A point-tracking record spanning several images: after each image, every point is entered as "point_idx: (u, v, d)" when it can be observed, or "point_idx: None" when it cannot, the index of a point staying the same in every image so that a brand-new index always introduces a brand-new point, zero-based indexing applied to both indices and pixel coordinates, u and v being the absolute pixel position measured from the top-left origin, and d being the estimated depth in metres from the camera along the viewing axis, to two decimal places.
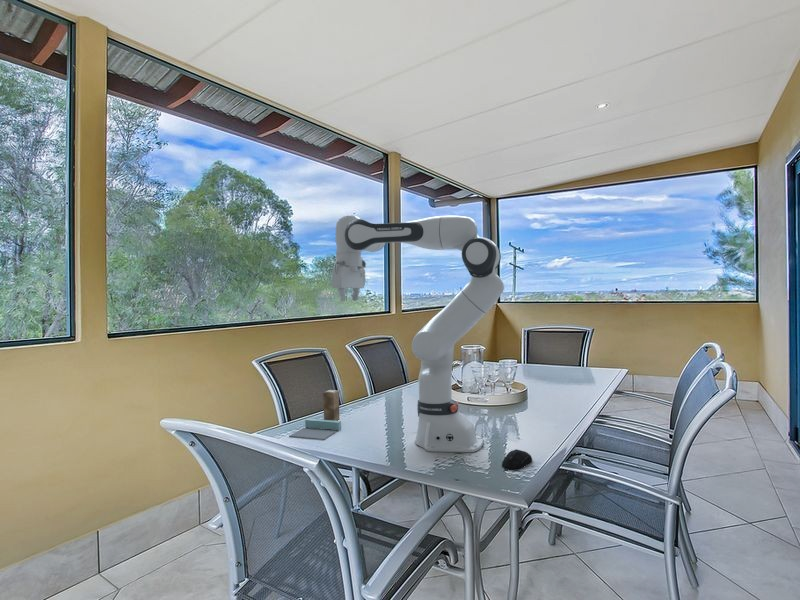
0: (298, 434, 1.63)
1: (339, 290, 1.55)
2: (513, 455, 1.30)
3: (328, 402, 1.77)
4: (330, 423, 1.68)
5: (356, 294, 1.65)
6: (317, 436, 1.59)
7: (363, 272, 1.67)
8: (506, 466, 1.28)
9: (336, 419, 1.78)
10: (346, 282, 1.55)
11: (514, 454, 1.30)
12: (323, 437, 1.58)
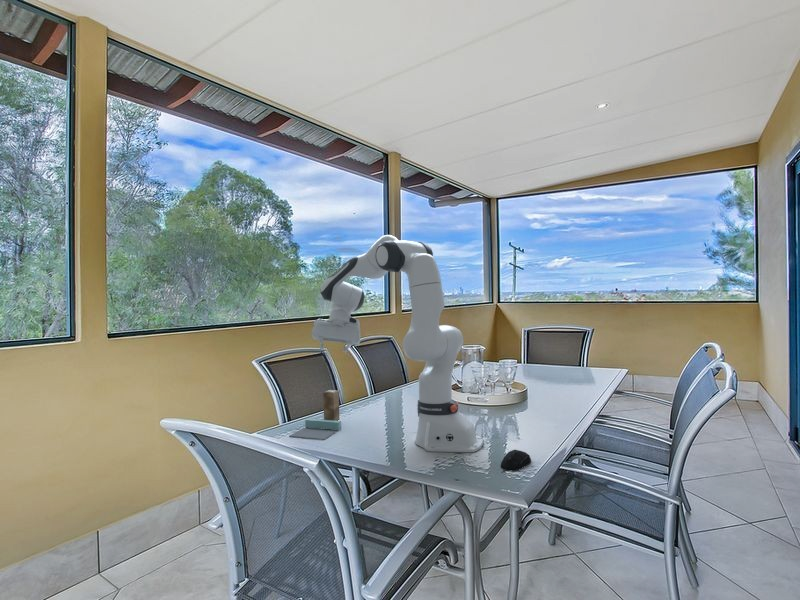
0: (298, 434, 1.63)
1: (319, 341, 1.86)
2: (512, 455, 1.29)
3: (328, 402, 1.77)
4: (330, 423, 1.68)
5: None
6: (317, 436, 1.59)
7: (356, 328, 1.87)
8: (505, 466, 1.27)
9: (336, 419, 1.78)
10: (322, 332, 1.85)
11: (513, 454, 1.30)
12: (323, 437, 1.58)
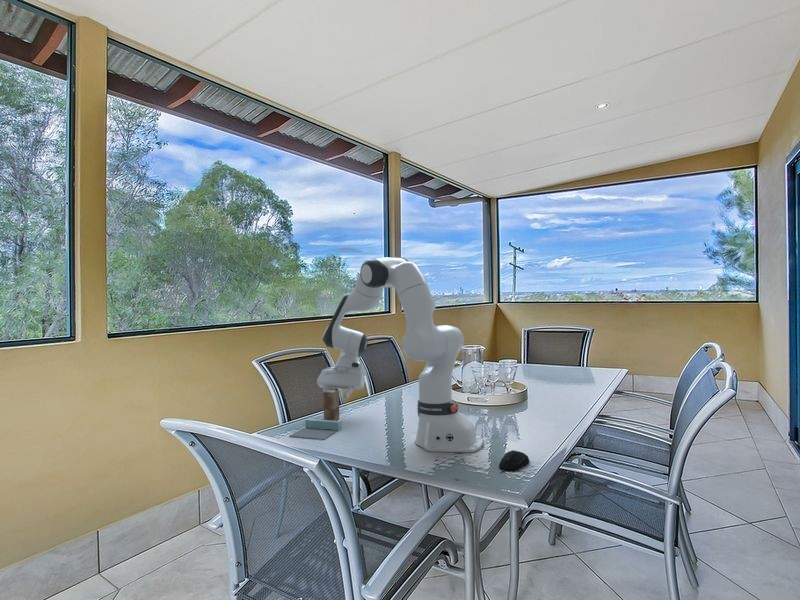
0: (298, 434, 1.63)
1: None
2: (510, 456, 1.29)
3: (328, 402, 1.77)
4: (330, 423, 1.68)
5: None
6: (317, 436, 1.59)
7: (358, 372, 1.84)
8: (503, 467, 1.27)
9: (336, 419, 1.78)
10: (326, 380, 1.87)
11: (511, 455, 1.29)
12: (323, 437, 1.58)
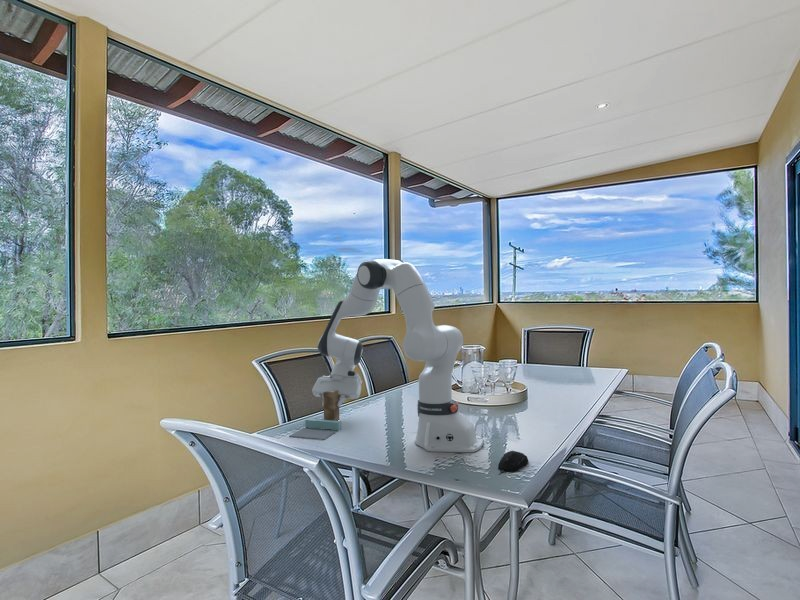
0: (298, 434, 1.63)
1: None
2: (509, 456, 1.28)
3: (328, 402, 1.77)
4: (330, 423, 1.68)
5: None
6: (317, 436, 1.59)
7: (354, 381, 1.81)
8: (503, 468, 1.26)
9: (336, 419, 1.78)
10: (321, 388, 1.83)
11: (510, 455, 1.29)
12: (323, 437, 1.58)
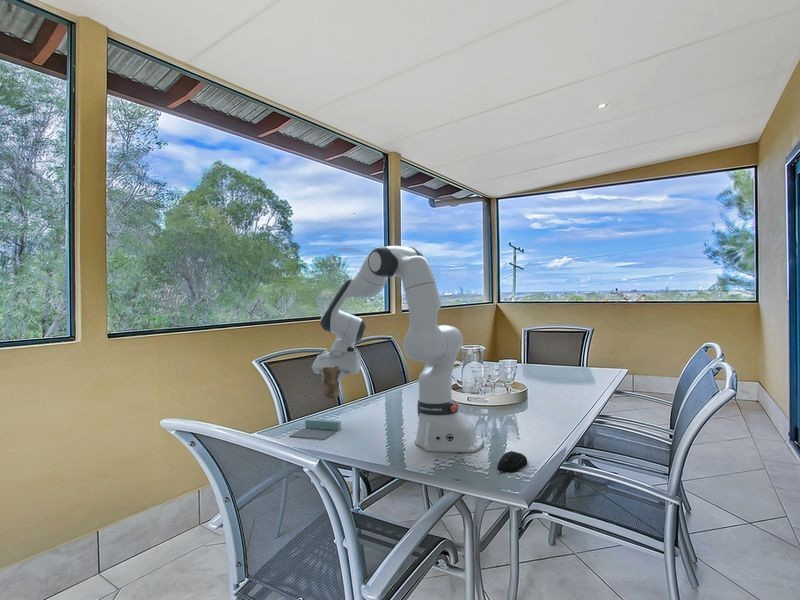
0: (298, 434, 1.63)
1: None
2: (509, 457, 1.28)
3: (327, 378, 1.76)
4: (330, 423, 1.68)
5: None
6: (317, 436, 1.59)
7: (353, 357, 1.81)
8: (502, 468, 1.26)
9: (336, 394, 1.77)
10: (321, 365, 1.83)
11: (510, 456, 1.29)
12: (323, 437, 1.58)
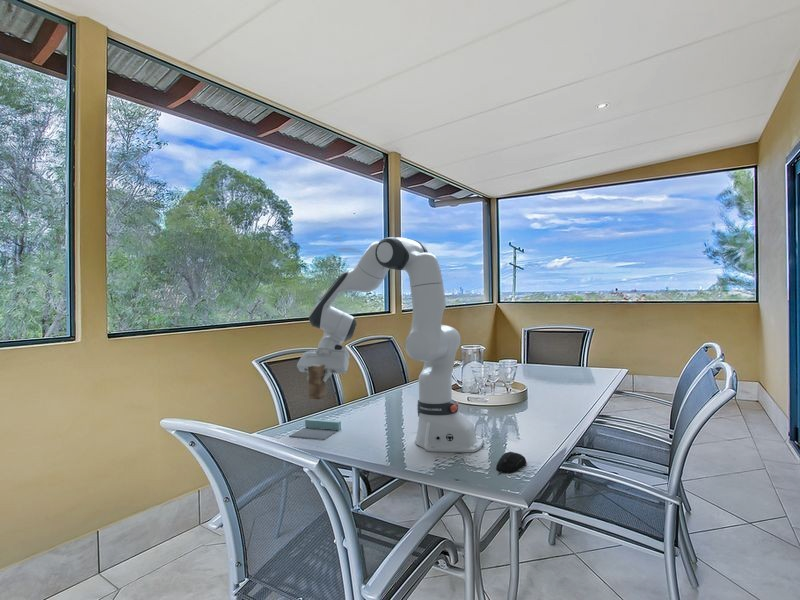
0: (298, 434, 1.63)
1: None
2: (508, 458, 1.28)
3: (313, 377, 1.66)
4: (330, 423, 1.68)
5: None
6: (317, 436, 1.59)
7: (341, 355, 1.70)
8: (501, 469, 1.26)
9: (322, 395, 1.67)
10: (307, 363, 1.73)
11: (509, 457, 1.28)
12: (323, 437, 1.58)
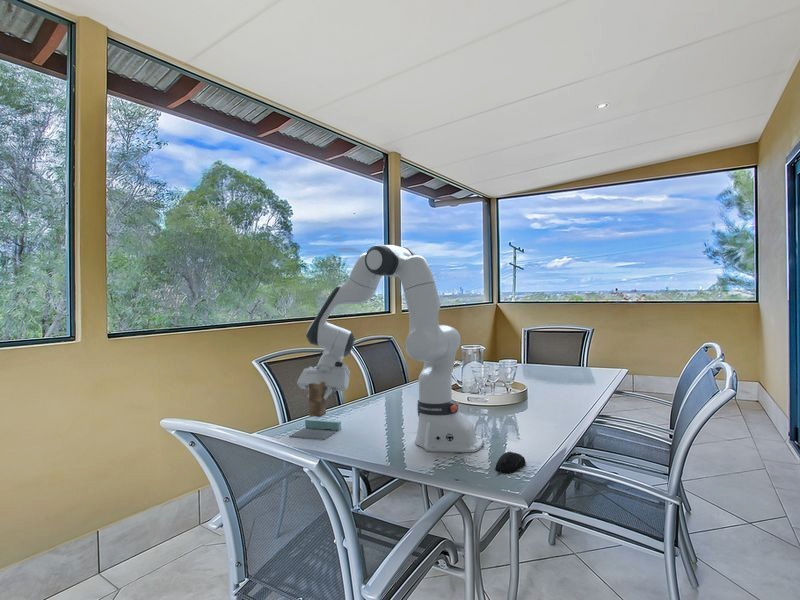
0: (298, 434, 1.63)
1: None
2: (507, 458, 1.28)
3: (313, 394, 1.66)
4: (330, 423, 1.68)
5: None
6: (317, 436, 1.59)
7: (341, 372, 1.71)
8: (500, 469, 1.25)
9: (322, 412, 1.68)
10: (307, 380, 1.73)
11: (508, 457, 1.28)
12: (323, 437, 1.58)
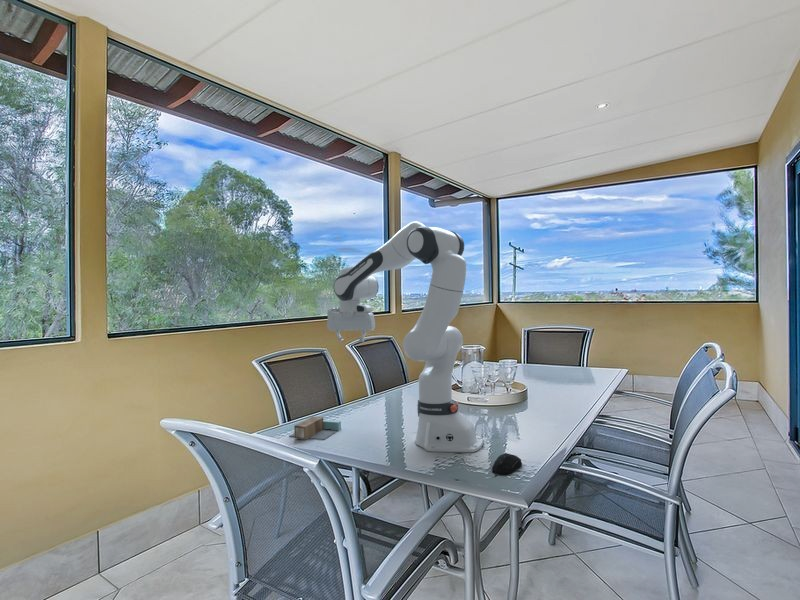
0: None
1: None
2: (503, 459, 1.27)
3: None
4: (330, 423, 1.68)
5: None
6: (317, 436, 1.59)
7: (366, 316, 1.78)
8: (497, 471, 1.24)
9: (321, 425, 1.66)
10: (336, 326, 1.83)
11: (504, 458, 1.27)
12: (323, 437, 1.58)
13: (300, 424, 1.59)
